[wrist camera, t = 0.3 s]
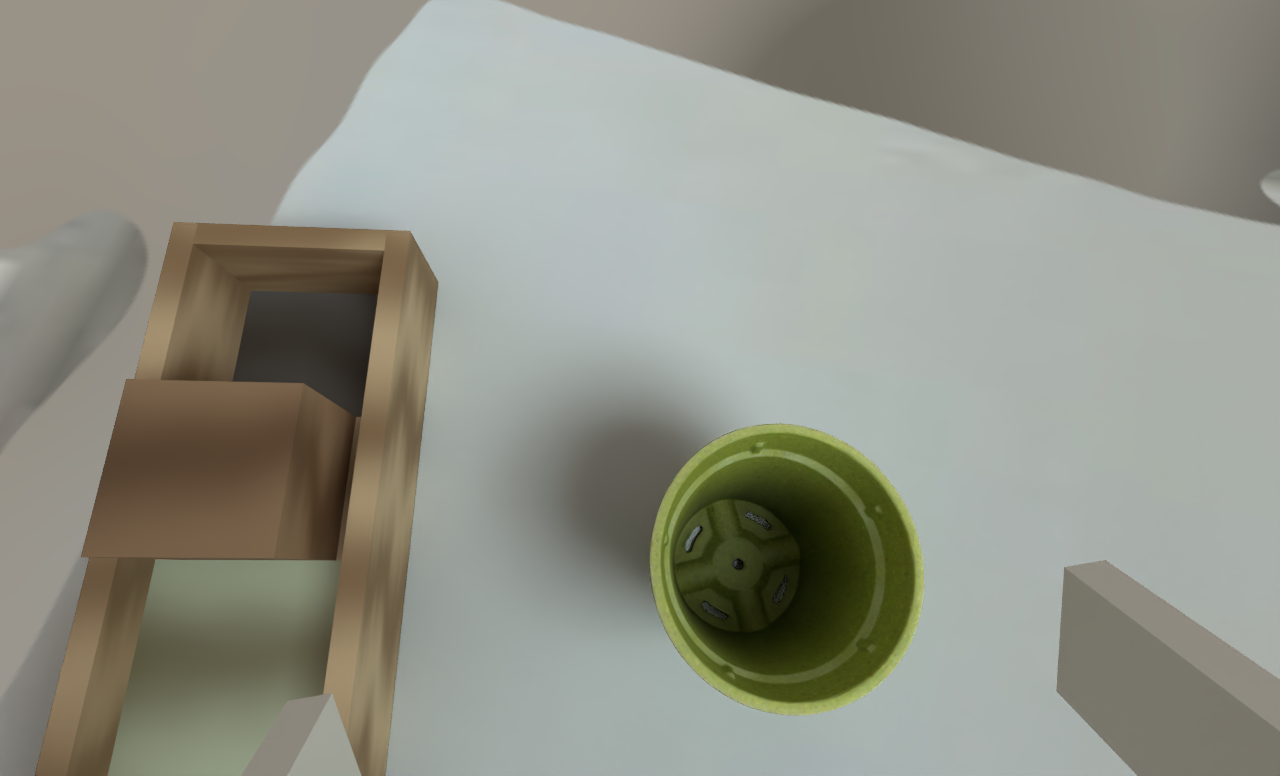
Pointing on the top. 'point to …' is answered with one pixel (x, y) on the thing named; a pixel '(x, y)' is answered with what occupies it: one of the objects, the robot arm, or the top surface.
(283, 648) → the wooden cubby shelf
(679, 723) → the top surface
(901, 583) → the plant pot
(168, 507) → the walnut block
